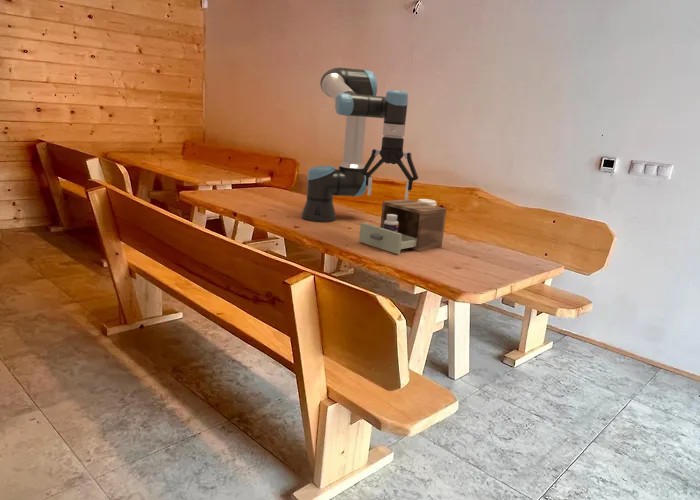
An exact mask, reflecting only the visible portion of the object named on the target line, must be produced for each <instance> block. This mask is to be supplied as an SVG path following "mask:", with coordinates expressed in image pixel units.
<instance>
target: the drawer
mask: <svg viewBox="0 0 700 500" xmlns="http://www.w3.org/2000/svg"><path fill="white" fill-rule="evenodd" d="M358 238H359V241H358V242H359V243H362V244H365V245H368V246H371V247H375V248H378V249H380V250H384V251H385V252H386V251H387V252H388V253H389V252H391V253H393V254H396V255H400V254H401V250H404V249H409V248H410V247H416V245H417V238H414V237H411V236H408V235H404V234H401V233H397V232H394V231H391V230H387V229H384V228H380V226H376V225H374V224H370V223H366V222H360V227H359V237H358Z"/></svg>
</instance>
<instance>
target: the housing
mask: <svg viewBox="0 0 700 500" xmlns="http://www.w3.org/2000/svg"><path fill="white" fill-rule="evenodd" d="M381 206H382V207H381V216H380V226H379V227H380V228H384V221H385V220H387V218H386V217H387V214H394V215H397V220H396V221H398V223H399V225H398V233H401V234H404V235H408V236H411V237H414V238H417V245H416V247H410V248H408V249H409V250H412V249H413V251H415V250H416V252H422V250H423V251H428V250H432V248H433V249H439V248H441V247H443V239H444V233H445V231H444V230H445V224H446V215H447V209H448V208H445V207H443V206H442V207H441V206H438V205H436V206H434V205H429V204H425V203H421V202H418V201H415V200H411V199H407V200H405V199H395V200H384V201H382V205H381ZM427 249H428V250H427Z"/></svg>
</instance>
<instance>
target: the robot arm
mask: <svg viewBox="0 0 700 500" xmlns="http://www.w3.org/2000/svg"><path fill="white" fill-rule="evenodd" d="M319 82H320V83H319V84H320V89H321V91H322V92H323V94H324V95H325V96H326V97H330V98H332V100H333V101H334V102H335V103H334V104H335V105H334V107H335V113H336V114H337V115H338V116H339V115H340V116H345V117H346V119H345V133H344V143H343V145H344V146H343V155H342V158H343V159H342V162H341V163H340V164H339V165H338V169H336V167H335V165H317V166H312V167H310V168H309V170H308V174H307V177H306V179H307V184H306V185H307V187H306V201H305V204H304V206H303V209H302V211H301V218H302V219H303V220H307V221H310V222H321V223H322V222H323V223H324V222H326V223H328V222H333V221H335V220H336V212H335V206H334V203H333V201H334V196H336V197H337V196H338V197H352V198H354V197H362V196H363V195H364V194H365V193H366V191H367V196H371V195H372V188H373V176H372V175H373V174H374V173H375V172H376V171H377V170H378V169H379V168H380V167H381V166H382V165H383V164H384V163H385V164H387V165H389V164H392V165H398V167H399V168H400V169H401V171H402V172H403V174H404V176H405V177H406V179H407V180H406V182H405V192H404V200H409V191H412V190H413V184H414V183H413V182H415V181H417V180H418V179H419V175H418V173H417V170H416V168H415V164H414V161H413V160H412V152H404V141H405V139H404V138H403V137H404V136H405V131H406V121H407V110H408V105H409V101H408V98H409V94H408V92H407V91H403V90H391V89H390V90H389V89H388V90H387V91H386V95H385V96H379V95H377V93H378V82H377V77H376V75H375V73H374V72H373V71H371V70H367V69H359V68H347V67H333V68H331V69H328V70H327V71H325V72H324V73H323V75H322V76H321V78H320V81H319ZM367 118H375V119H383V127H382V135H383V136H382V139H381V149H380V150H379V149H376V148H374V149H372V150H371V154H370V157H369V158H368V160H367V162H366V163H365V165H364V164H363V158H364V148H365V136H366V135H365V134H366V124H367V123H366V122H367ZM378 155H379V156H380V157H381V158H380V160H378V162H376V164H375V165H374V166H372V164H373V162H374V161H375V159H376V157H378ZM403 157H404V158H405V160H406V161H407V164H408V167H409V169H410V172H411V173H410V172H409V170H408V168H407V167H406V166H405V164H404V162H403V160H402V159H403ZM371 166H372V168H371V169H370V167H371Z"/></svg>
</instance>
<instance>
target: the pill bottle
mask: <svg viewBox="0 0 700 500" xmlns="http://www.w3.org/2000/svg"><path fill="white" fill-rule="evenodd" d="M386 218H387V220H385V221H384V229H387V230H391V231H394V232H397V233H398V225H399V223H398V221H396V220H397V215H394V214H387V217H386Z"/></svg>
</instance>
